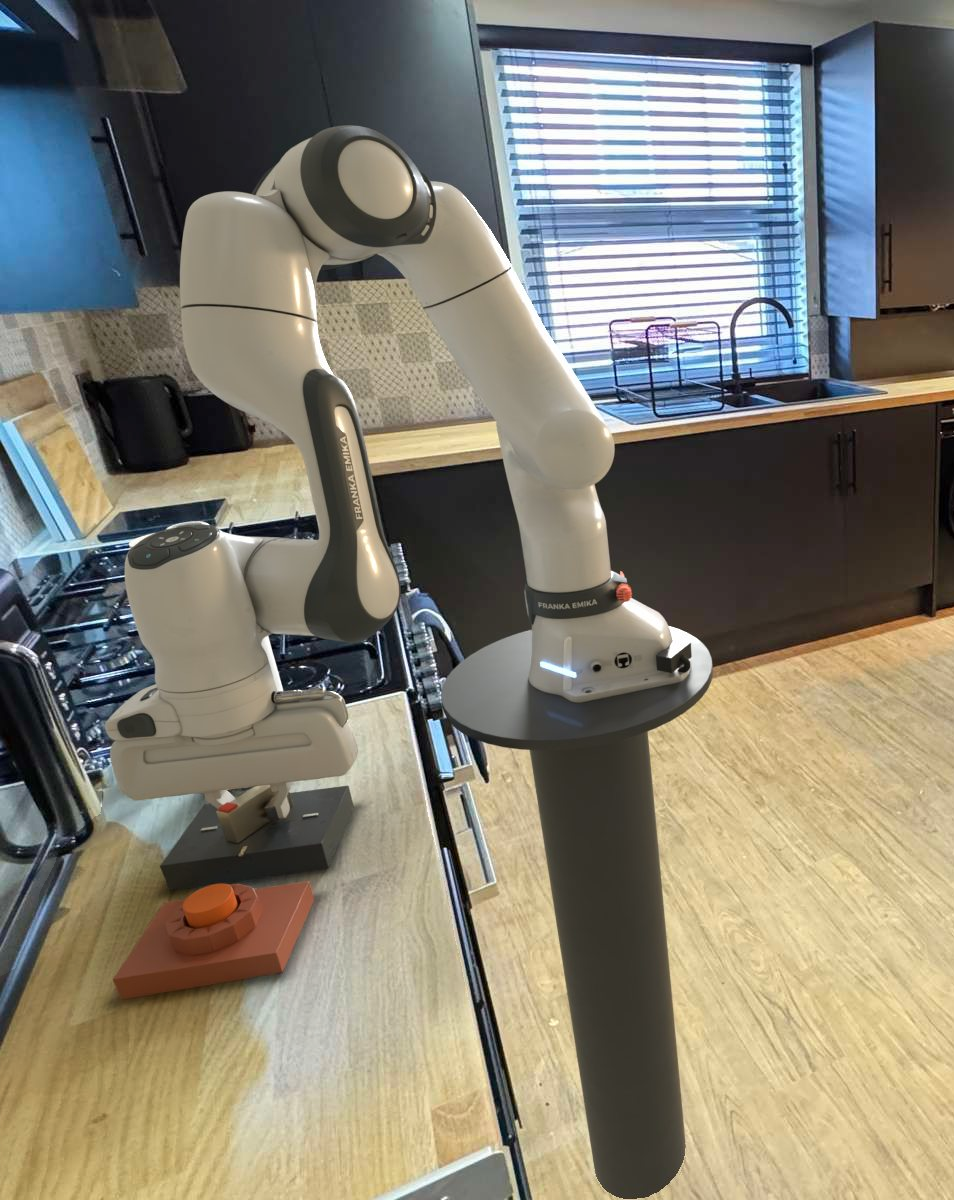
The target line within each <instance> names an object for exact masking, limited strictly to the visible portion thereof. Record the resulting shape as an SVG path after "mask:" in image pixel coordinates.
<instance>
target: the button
mask: <svg viewBox="0 0 954 1200" xmlns="http://www.w3.org/2000/svg"><path fill="white" fill-rule="evenodd" d="M230 885H231V884H227V883H220V884H213V885H207V886H203V887H202V888H199V889H198V890H195V891H193V893H191V894H190V895H189V896H188V897H186V898H185V899H186V900H185V901H184V903H183V911H184V913H185V916H186V919H187V921H188V924H189V925H190V926H191V927H192V928H196V929H197V928H204V927H210V926H212V925H214V924H217V923H219V922H221V921H224V920H225V919H227V918H228V917H229V916H230V915H232V914H233V913H234V912H235V911H236V909H237V906H238V904H237V900H236V897H235V894H234V891H233V888H232V887H231V886H230Z"/></svg>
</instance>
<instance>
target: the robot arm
mask: <svg viewBox="0 0 954 1200" xmlns="http://www.w3.org/2000/svg"><path fill="white" fill-rule="evenodd" d="M255 185H256V186H255V187H254V189H253V191H252V192H251V193H248V192H242V191H232V190H231V191H226V190H225V191H218V192H212V193H208V194H205V195H203V196H200V197H199V198H198V199H196V200H195V201H194V202H192V204H191V205H190V207H189V208H188V210H187V213H186V216H185V221H184V227H183V233H182V234H183V235H182V241H181V250H180V264H179V266H180V267H179V298H180V299H179V300H180V315H181V332H182V333H181V334H182V341H183V347H184V352H185V355H186V358H187V361H188V364H189V366H190V369H191V372H192V373H193V374H194V376H195V377H196V378H197V379H198V380H199V382H201V384H202V385H203V386H204V387H205V388H206V389H207V390H208V391H210V392H211V393H212V394H213V395H214V396H216V397H217V398H218V399H220V400H221V401H223V402H224V403H226V404H228V405H229V406H231V407H233V408H235V409H237V410H239V411H241V412H244V413H247V414H248V415H251V416H253V417H256V418H258V419H260V420H262V421H264V422H266V423H268V424H270V425H272V426H273V427H276V429H278V430H280V431H281V432H282V433H284V434H285V435H286V436H287V437H288V438H289V439H290V440H291V441H292V442H293V444H294V445H295V446H296V448H297V449H298V451H299V453H300V455H301V456H302V459H303V462H304V466H305V471H306V475H307V480H308V485H309V490H310V494H311V498H312V503H313V508H314V513H315V518H316V522H317V527H318V539H304V538H303V539H302V538H301V539H300V538H287V537H273V536H271V537H270V536H248V535H247V536H245V535H239V534H232V533H228V532H225V531H222V530H221V529H220V528H218V527H217V526H215V525H210V524H209V525H206V524H192V525H183V526H177V527H175V528H171V529H167V528H166V529H167V530H166V529H163V530H162V529H161V530H160V531H157V532H154V534H153V533H151V534H152V535H150V536H148V537H146V538H144V539H143V540H141V541H140V542H138V543H137V544H136V545H135V546H133V547H132V548H131V549H130V548H129V551H128V552H127V554H126V557H125V561H124V584H125V590H126V596H127V601H128V604H129V608H130V612H131V615H132V619H133V622H134V624H135V628H136V631H137V633H138V636H139V640H140V642H141V644H142V645H143V647H144V648H145V649H146V650H147V652H148V653H149V654H150V656H151V657H152V661H153V663H154V682H155V684H153V685H150V686H147V687H145V688H142V689H141V690H139V691H138V692H136V693H135V694H133V695H132V696H131V697H130V698H128V699H127V700H126V701H125V702H124V703H122V704H121V705H120V706H119V707H118V708H117V709H116V710H115V711H114V712H113V713H112V714H111V715H110V716H109V718H108V719H107V720H106V722H105V723H104V730H105V733H106V735H107V736H108V737H109V738H110V739H111V740H113V741H114V742H112V744H111V745H110V750H109V759H110V763H111V767H112V772H113V775H114V778H115V781H116V784H117V786H118V789H119V791H120V792H121V794H122V795H124V796H126V797H127V798H129V799H131V800H132V801H135V802H137V801H139V802H140V801H146V800H154V799H163V798H170V797H171V798H172V797H180V796H189V795H196V794H203V795H204V798H205V801H206V803H207V802H208V803H210V804H212V805H213V806H214V807H216V808H217V809H218V808H219V807H221V806H222V805H224V804H225V803H227V802H229V803H230V802H231V801H233V800H234V799H236V798H237V797H235V796H234V795H233V794H231V792H229V791H228V790H236V789H247V788H246V787H248V788H253V787H255V786H262V785H270V787H271V790H272V792H277V791H279V793H278V795H277V796H276V797H273V798H272V799H270V800H269V803H267V804H266V806H265V811H266V813H267V814H268V816H267V817H268V819H269V820H274V819H282V818H286V817H287V815H288V813H289V811H290V806H289V803H288V799H287V795H288V793H289V792H290V790H291V788H292V785H293V783H295V782H303V781H310V780H317V779H318V780H319V779H327V778H336V777H343V776H345V775H346V774H347V773H348V772H349V771H350V770H351V768H352V767H353V766H354V763H355V762H356V761H357V758H358V755H359V746H358V743H357V740H356V737H355V734H354V731H353V729H352V727H351V724H350V723H349V712H348V708H347V705H346V701H345V699H344V697H343V696H342V695H340V694H339V693H337V692H334V691H331V690H327V689H326V688H325V687H312V688H309V689H290V690H283V691H278V692H277V688H276V685H275V681H274V678H273V674H272V671H271V667H270V664H269V660H268V657H267V654H266V652H265V650H264V649H263V647H262V646H261V642H262V640H263V639H264V638H265V637H266V636H268V637H269V636H270V635H272V634H275V635H285V636H286V635H287V636H303V637H306V636H307V637H316V638H318V639H323V640H331V641H336V642H343V643H349V644H357V643H361V642H363V641H366V640H367V639H370V638H371V637H372V636H374V635H375V634H377V633H378V632H379V631H380V630H382V629H383V627H385V626H386V625H387V624H388V622H389V621H390V620H391V619H392V618H393V616H394V615H395V613H396V612H397V610H398V608H399V605H400V601H401V597H402V596H401V595H402V587H401V580H400V576H399V572H398V569H397V566H396V563H395V560H394V558H393V556H392V553H391V551H390V549H389V546H388V542H387V540H386V537H385V532H384V527H383V523H382V519H381V514H380V509H379V503H378V500H377V494H376V490H375V485H374V480H373V475H372V470H371V466H370V460H369V456H368V450H367V445H366V441H365V437H364V434H363V433H364V432H363V428H362V424H361V420H360V416H359V413H358V409H357V406H356V403H355V400H354V398H353V397H354V396H353V395H352V393H351V391H350V389H349V388H348V386H347V385H346V383H345V382H344V381H343V380H342V379H341V378H339V377H338V376H336V375H334V374H333V372H332V370H331V368H330V366H329V364H328V362H327V360H326V357H325V354H324V352H323V348H322V345H321V341H320V337H319V326H318V314H317V302H316V293H315V291H316V287H317V280H318V276H319V273H320V271H325V270H332V269H336V268H340V267H343V266H345V265H348V264H353V263H357V262H361V261H364V260H367V259H369V258H371V257H373V256H375V255H378V256H381V257H382V258H384V259H385V260H386V261H388V262H390V264H391V265H393V266H394V267H395V268H396V269H397V270H398V271H399V272H400V274H401V275H402V276H403V277H404V278H405V279H406V280H407V282H408V284H409V285H410V288H411V290H412V292H413V293H414V295H415V297H416V299H417V300H418V302H419V304H420V305H421V307H422V309H423V310H424V312H425V313H426V316H427V317H428V318H429V321H430V322H431V324H432V326H433V327H434V329H435V330H436V332H437V333H438V335H439V337H440V338H441V340H442V342H443V343H444V345H445V346H446V348H447V350H448V352H449V353H450V356H451V357H452V358H453V360H454V362H455V363H456V365H457V367H458V368H459V369H460V371H461V373H462V374H463V376H464V377H465V378H466V380H467V382H468V383H469V384H470V386H471V387H472V388H473V390H474V391H475V393H476V394H477V396H478V397H479V399H480V400H481V402H482V403H483V404H484V406H485V407H486V409H487V410H488V412H489V413H490V415H491V416H492V418H493V419H494V421H495V424H496V425H495V426H496V432H497V436H498V442H499V447H500V452H501V457H502V461H503V466H504V471H505V475H506V480H507V484H508V488H509V492H510V496H511V500H512V503H513V507H514V511H515V515H516V519H517V520H516V521H517V524H518V529H519V535H520V541H521V542H520V543H521V548H522V555H523V561H524V570H525V575H526V580H525V583H524V590H523V591H524V592H523V593H524V599H525V607H526V615H527V617H528V620H529V623H530V624H531V630H532V655H531V664H530V671H529V675H528V679H529V682H530V683H531V685H532V686H534V687H535V688H537V689H539V690H541V691H543V692H547V693H551V694H556V695H560V696H563V697H564V698H566V699H568V700H569V701H572V702H575V703H581V702H586V701H591V700H596V699H601V698H606V697H610V696H615V695H620V694H625V693H630V692H635V691H640V690H644V689H649V688H654V687H659V686H664V685H669V684H674V683H678V682H681V681H683V680H684V679H685V678H686V677H687V675H688V674H689V672H690V668H691V661H690V658H691V657H692V653H691V643H690V642H685V641H680V640H678V639H676V638H674V637H672V634H671V631H670V629H669V626H670V625H669V624H668V621H666V619H665V617H664V616H663V615H662V614H661V613H660V612H659V611H657V610H655V609H653V608H651V607H649V606H647V605H645V604H643V603H642V602H640V601H639V600H636V599H635V598H632V597H633V592H632V587H631V586H630V585H629V584H628V580H627V577H625V574H624V573H623V571H621V570H620V573H617V572H616V571H613V570H612V568H611V567H612V566H611V559H610V550H609V549H610V548H609V540H608V529H607V520H606V517H605V514H604V511H603V509H602V507H601V503H600V499H599V495H598V493H597V489H596V484H597V483H599V482H600V481H601V480H603V478H605V476H606V475H607V474H608V472H609V471H610V469H611V467H612V464H613V462H614V459H615V458H614V457H615V452H616V451H615V450H616V449H615V441H614V436H613V434H612V432H611V430H610V428H609V426H608V424H607V423H606V421H605V420H604V418H603V417H602V415H601V413H600V411H599V410H598V409H597V407H596V405H595V403H594V402H593V400H592V399H591V397H590V395H589V393H588V392H587V391H586V389H585V387H584V386H583V384H582V383H581V381H580V380H579V378H578V376H577V375H576V373H575V372H574V370H573V368H572V367H571V365H570V364H569V363H568V361H567V359H566V358H565V356H564V355H563V354H562V352H561V350H560V349H559V348H558V346H557V345H556V344H555V342H554V341H553V339H552V337H551V336H550V334H549V333H548V331H547V330H546V328H545V326H544V324H543V323H542V321H541V319H540V317H539V315H538V313H537V311H536V310H535V308H534V306H533V304H532V302H531V300H530V298H529V296H528V295H527V293H526V290H525V289H524V287H523V285H522V283H521V281H520V279H519V278H518V276H517V274H516V272H515V271H514V268H513V267H512V264H511V263H510V261H509V259H508V258H507V256H506V254H505V252H504V250H503V249H502V247H501V245H500V244H499V242H498V241H497V239H496V237H495V236H494V234H493V232H492V231H491V229H490V228H489V227H488V225H487V223H486V222H485V221H484V219H483V218H482V217H481V216H480V213H478V211H477V210H476V208H475V207H474V206H473V205H472V203H471V202H470V201H469V200H468V199H467V197H466V196H465V195H464V194H463V192H461V190H459V189H458V188H457V187H455V186H453V185H452V184H450V183H445V182H442V181H436V180H435V181H434V180H433V181H432V180H430V179H429V177H428V176H427V175H426V174H425V173H424V172H423V171H422V170H421V169H419V168H418V167H417V166H416V164H415V162H413V160H412V159H411V158H410V156H408V154H407V153H406V152H405V151H404V150H403V149H402V148H401V147H400V146H399V145H398V144H396V142H394V141H393V140H392V139H390V138H389V137H388V136H386V135H384V134H383V133H380V132H379V131H378V130H375V129H372V128H369V127H366V126H361V125H354V124H353V125H352V124H348V125H338V126H332V127H328V128H325V129H323V130H320V131H319V132H317V133H316V134H314V135H313V136H312V137H309V138H306V139H305V140H303V141H301V142H299V143H298V144H296V145H294V146H292V147H291V148H290V149H288V151H286V152H285V153H284V155H283V156H281V158H280V160H279V161H278V163H276V164H275V165H273V166H272V167H270V168H269V169H268V170H267V171H266V172H265V173H264V174H263V175H262V176H261V178H260V179H259V180H258V182H257V184H255ZM218 810H219V809H218Z"/></svg>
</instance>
